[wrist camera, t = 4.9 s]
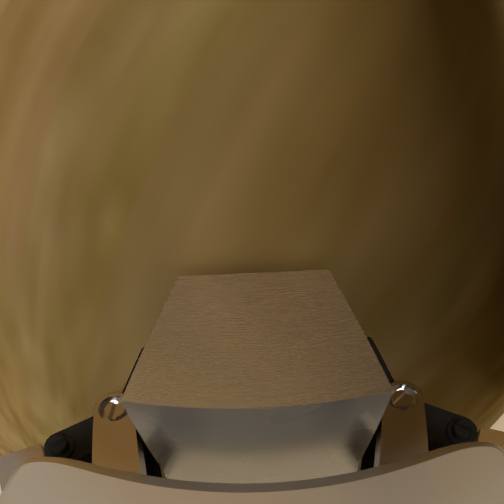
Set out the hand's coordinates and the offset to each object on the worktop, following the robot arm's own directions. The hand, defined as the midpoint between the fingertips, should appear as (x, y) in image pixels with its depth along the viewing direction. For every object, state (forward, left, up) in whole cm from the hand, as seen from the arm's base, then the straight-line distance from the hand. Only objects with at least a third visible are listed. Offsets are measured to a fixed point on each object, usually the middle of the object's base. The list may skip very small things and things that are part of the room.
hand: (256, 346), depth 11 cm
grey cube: (0, 0, -1) cm, 1 cm away
